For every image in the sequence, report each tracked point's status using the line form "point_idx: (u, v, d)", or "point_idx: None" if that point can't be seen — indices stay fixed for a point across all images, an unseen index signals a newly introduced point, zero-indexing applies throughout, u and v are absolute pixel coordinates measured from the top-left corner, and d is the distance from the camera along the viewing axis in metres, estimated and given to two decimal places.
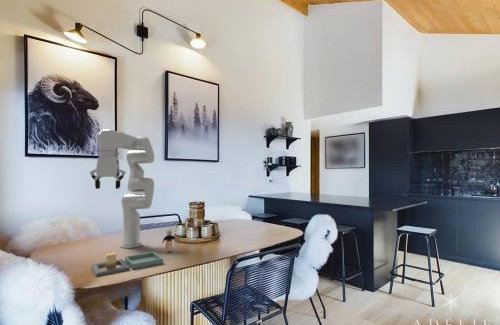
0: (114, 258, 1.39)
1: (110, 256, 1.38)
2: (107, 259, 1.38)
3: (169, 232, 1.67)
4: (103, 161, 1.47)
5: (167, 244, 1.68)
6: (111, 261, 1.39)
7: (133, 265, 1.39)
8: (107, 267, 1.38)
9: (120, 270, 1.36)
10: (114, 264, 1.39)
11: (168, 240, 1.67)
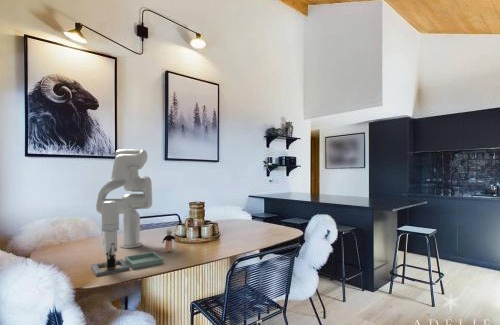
0: None
1: None
2: (107, 259, 1.38)
3: (169, 232, 1.67)
4: None
5: (167, 244, 1.68)
6: None
7: (133, 265, 1.39)
8: (107, 267, 1.38)
9: (120, 270, 1.36)
10: None
11: (168, 240, 1.67)
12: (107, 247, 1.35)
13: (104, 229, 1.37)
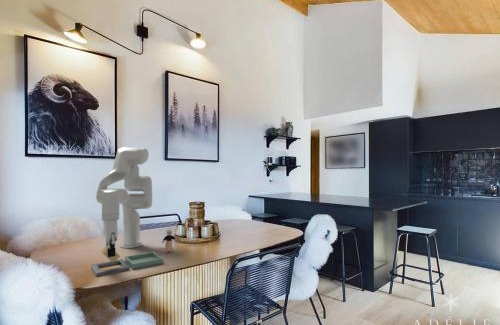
0: None
1: (106, 251, 1.38)
2: (106, 255, 1.37)
3: (169, 232, 1.67)
4: None
5: (167, 244, 1.68)
6: None
7: (133, 265, 1.39)
8: (111, 260, 1.39)
9: (120, 270, 1.36)
10: (115, 254, 1.40)
11: (168, 240, 1.67)
12: (107, 236, 1.35)
13: (104, 218, 1.37)
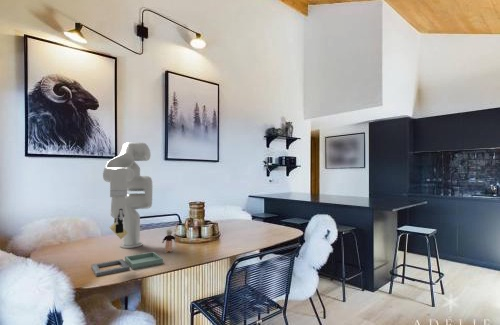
0: None
1: (114, 227, 1.40)
2: (114, 231, 1.40)
3: (169, 232, 1.67)
4: None
5: (167, 244, 1.68)
6: None
7: (133, 265, 1.39)
8: (119, 236, 1.41)
9: (120, 270, 1.36)
10: (123, 230, 1.42)
11: (168, 240, 1.67)
12: (115, 212, 1.37)
13: (112, 195, 1.39)
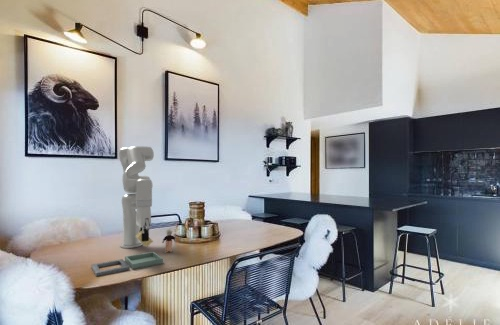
0: None
1: (141, 236, 1.46)
2: (140, 239, 1.46)
3: (169, 232, 1.67)
4: None
5: (167, 244, 1.68)
6: None
7: (133, 265, 1.39)
8: (145, 244, 1.47)
9: (120, 270, 1.36)
10: (149, 238, 1.49)
11: (168, 240, 1.67)
12: (142, 221, 1.44)
13: (139, 205, 1.46)
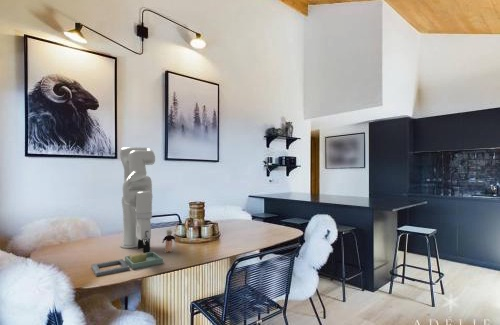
0: (135, 257, 1.45)
1: (133, 261, 1.44)
2: None
3: (169, 232, 1.67)
4: None
5: (167, 244, 1.68)
6: (138, 259, 1.46)
7: (133, 265, 1.39)
8: (143, 261, 1.47)
9: (120, 270, 1.36)
10: (141, 256, 1.47)
11: (168, 240, 1.67)
12: (142, 234, 1.44)
13: (139, 217, 1.46)
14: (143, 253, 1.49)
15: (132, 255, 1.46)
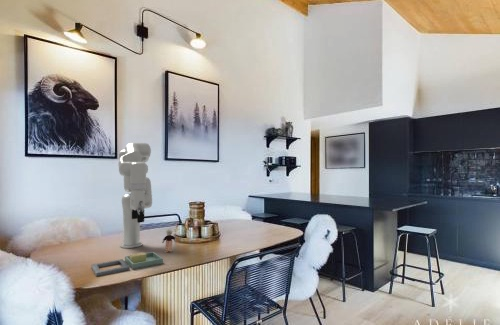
0: (135, 257, 1.45)
1: (133, 261, 1.44)
2: None
3: (169, 232, 1.67)
4: None
5: (167, 244, 1.68)
6: (138, 259, 1.46)
7: (133, 265, 1.39)
8: (143, 261, 1.47)
9: (120, 270, 1.36)
10: (141, 256, 1.47)
11: (168, 240, 1.67)
12: (136, 204, 1.46)
13: (133, 188, 1.47)
14: (143, 253, 1.49)
15: (132, 255, 1.46)
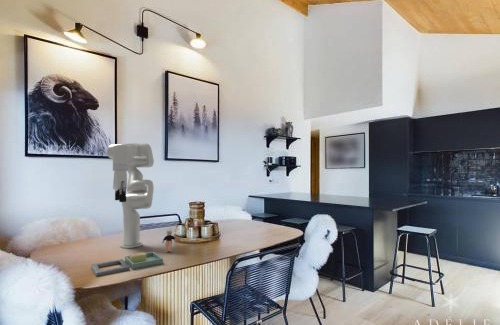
0: (135, 257, 1.45)
1: (133, 261, 1.44)
2: None
3: (169, 232, 1.67)
4: None
5: (167, 244, 1.68)
6: (138, 259, 1.46)
7: (133, 265, 1.39)
8: (143, 261, 1.47)
9: (120, 270, 1.36)
10: (141, 256, 1.47)
11: (168, 240, 1.67)
12: (118, 184, 1.49)
13: (115, 168, 1.51)
14: (143, 253, 1.49)
15: (132, 255, 1.46)
